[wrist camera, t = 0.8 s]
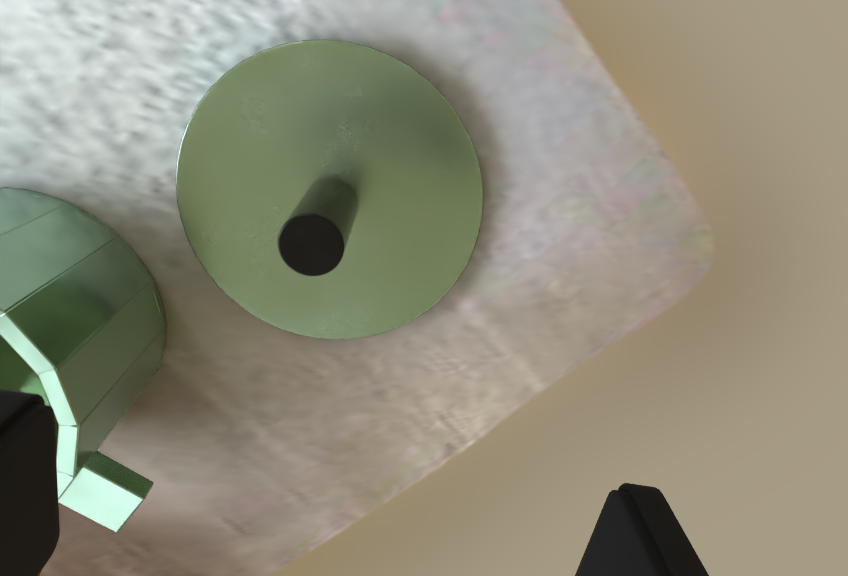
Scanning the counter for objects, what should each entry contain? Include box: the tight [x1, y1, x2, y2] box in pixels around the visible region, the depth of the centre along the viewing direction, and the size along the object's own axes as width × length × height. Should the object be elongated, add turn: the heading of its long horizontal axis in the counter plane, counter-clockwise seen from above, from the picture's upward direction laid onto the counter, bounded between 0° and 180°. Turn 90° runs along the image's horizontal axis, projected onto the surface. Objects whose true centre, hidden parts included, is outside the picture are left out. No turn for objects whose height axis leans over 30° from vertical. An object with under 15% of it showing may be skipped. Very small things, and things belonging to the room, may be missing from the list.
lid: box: [176, 40, 483, 339], centre depth 24 cm, size 14×14×7 cm
